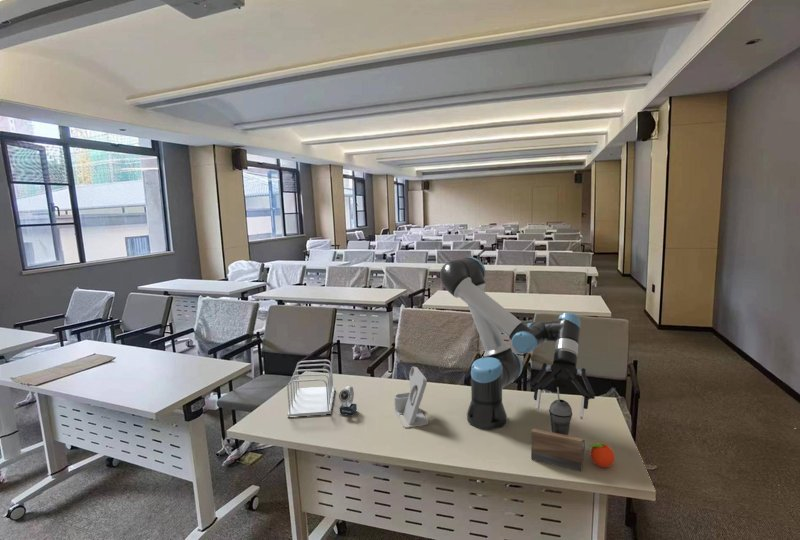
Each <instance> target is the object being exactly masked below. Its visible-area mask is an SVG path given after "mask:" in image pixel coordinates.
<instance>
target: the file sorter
mask: <svg viewBox="0 0 800 540" xmlns="http://www.w3.org/2000/svg"><path fill="white" fill-rule="evenodd" d="M315 362H316V363H315ZM317 362H328V363H329V364H327V363H317ZM301 363H302V364H301ZM303 363H310V364H303ZM311 363H312V364H311ZM313 363H314V364H313ZM317 366H318V367H319V366H328V367H329V370H328V369H327V368H311V369H310V368H308V369H307V368H306V369H299V368H300V367H317ZM315 371H316V372H317V371H326V372H327V373H328V375H327V374H325V373H315V374H314V373H313V374H312V373H311V374H308V373H307V374H299V372H315ZM317 376H319V377H320V376H322V377H326V379H327V380H325V379H324V378H314V379H313V378H312V379H311V378H310V379H309V378H308V379H299V377H317ZM333 378H334V377H333V365H332V362H331V361H330V360H329V359H315V360H314V359H313V360H301V361H299V362H297V363H296V366H295V369H294V372H293V373H292V377H291V378H290V381H289V382H288V384H287V386H286V387H287V388H286V389H287V402H288V412H287V416H288V417H290V416H307V417H311V416H310V415H321V416H327V415H326V414H332V410H331V409H333V404H334V398H333V397H335V392H336V386H335V385H334V379H333ZM315 381H322V382H324V383H325V386H315V387H302V388H301V387H300V382H315ZM334 391H335V392H334ZM290 398H291V400H290ZM332 403H333V404H332ZM288 417H287V418H288Z"/></svg>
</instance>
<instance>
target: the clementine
mask: <svg viewBox="0 0 800 540" xmlns="http://www.w3.org/2000/svg"><path fill="white" fill-rule="evenodd" d="M587 451H590V452H589V453H590V458H591V460H592V462H593V463H594V464H595V465H597V466H598V467H600V468H609V467H611V466H612V465H613V464H614V463H615V458H616V457H615V453H614V450H613V449H612V448H611V447H610V446H609V445H608V444H605V443H601V442H599V443H597V444H596V443H595V444H592V445H591V446H589V448H588V449H587Z"/></svg>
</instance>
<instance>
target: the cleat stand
mask: <svg viewBox="0 0 800 540" xmlns="http://www.w3.org/2000/svg"><path fill="white" fill-rule="evenodd" d="M530 441H531V443H530V444H531V447H530V448H531V449H530V450H531V453H530V454H531V455H530V456H531V457H530V460H531V459H532V460H531V461H534V460H535V462H538V463H544V464H547V465H553V466H557V467H561V468H564V469H568V468H569V469H570V470H573V471H577V472H578V471H579V472H581V471H582V467H583V461H584V454H585V450H586V449H585V444H586V440H584V439H583V437H578V436H574V435H570V434H568V435H564V434H559V433H554V432H551V431H549V430H544V429H540V428H539V429H538V428H532V429H531V440H530Z"/></svg>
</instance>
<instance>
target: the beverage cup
mask: <svg viewBox="0 0 800 540" xmlns="http://www.w3.org/2000/svg"><path fill="white" fill-rule="evenodd" d="M556 389H557V390H556V391H557V394H556V395H557V399H555V400H553V402H552V403H550V406H549V409H548V412H549V418H550V432H554V433H559V434H564V435H570V434H569V433H570V426H571V421H572V417H573V409H572V406H571V405H570V403H568V401H565V400H564V399H561V398H560V389H559V386H556Z"/></svg>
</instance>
